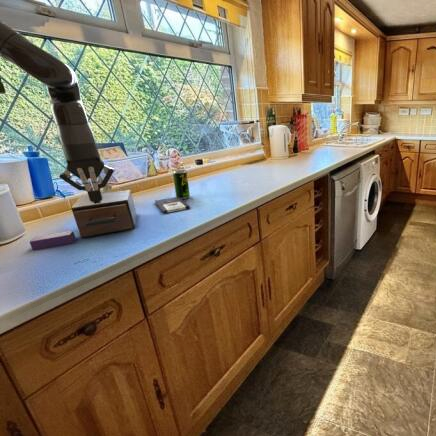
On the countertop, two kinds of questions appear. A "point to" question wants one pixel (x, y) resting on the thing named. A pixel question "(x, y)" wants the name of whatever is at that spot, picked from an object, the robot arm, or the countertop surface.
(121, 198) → the cabinet
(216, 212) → the countertop surface
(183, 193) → the beer can
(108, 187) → the chocolate bunny
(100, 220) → the drawer
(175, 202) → the chocolate bar
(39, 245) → the purple rectangular block
